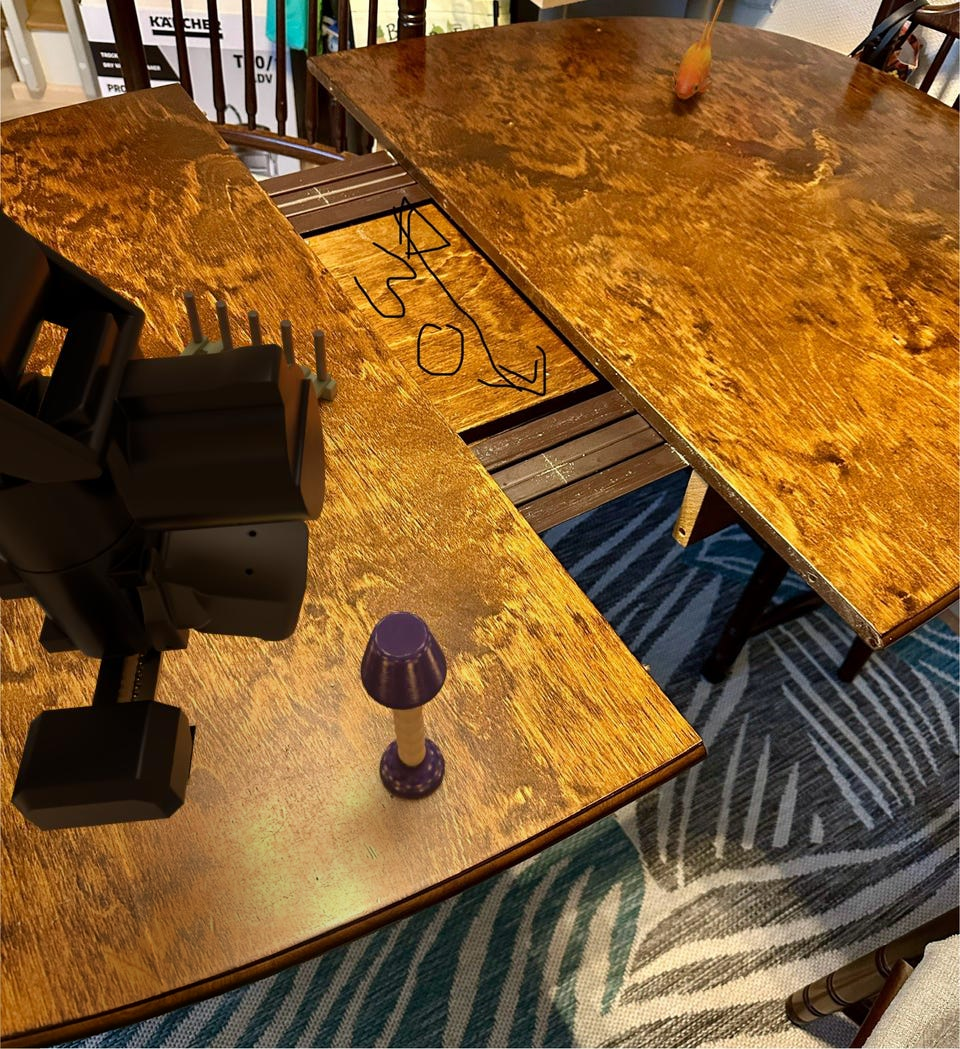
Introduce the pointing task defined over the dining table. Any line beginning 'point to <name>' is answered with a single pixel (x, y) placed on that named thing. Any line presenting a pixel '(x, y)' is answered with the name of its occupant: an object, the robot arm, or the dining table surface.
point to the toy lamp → (406, 699)
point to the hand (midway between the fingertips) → (191, 699)
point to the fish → (696, 64)
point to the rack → (258, 343)
